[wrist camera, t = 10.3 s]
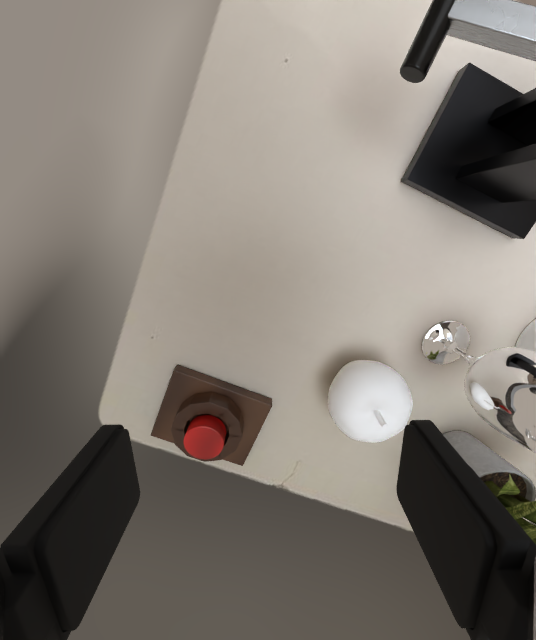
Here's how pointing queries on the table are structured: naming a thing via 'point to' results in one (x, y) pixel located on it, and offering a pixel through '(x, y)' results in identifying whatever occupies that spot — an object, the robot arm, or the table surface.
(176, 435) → the button block
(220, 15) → the table surface
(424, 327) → the table surface
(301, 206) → the table surface
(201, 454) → the button
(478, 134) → the bracket
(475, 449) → the house plant
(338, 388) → the plain white apple
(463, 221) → the table surface
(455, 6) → the lever
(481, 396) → the wineglass
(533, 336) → the mug
